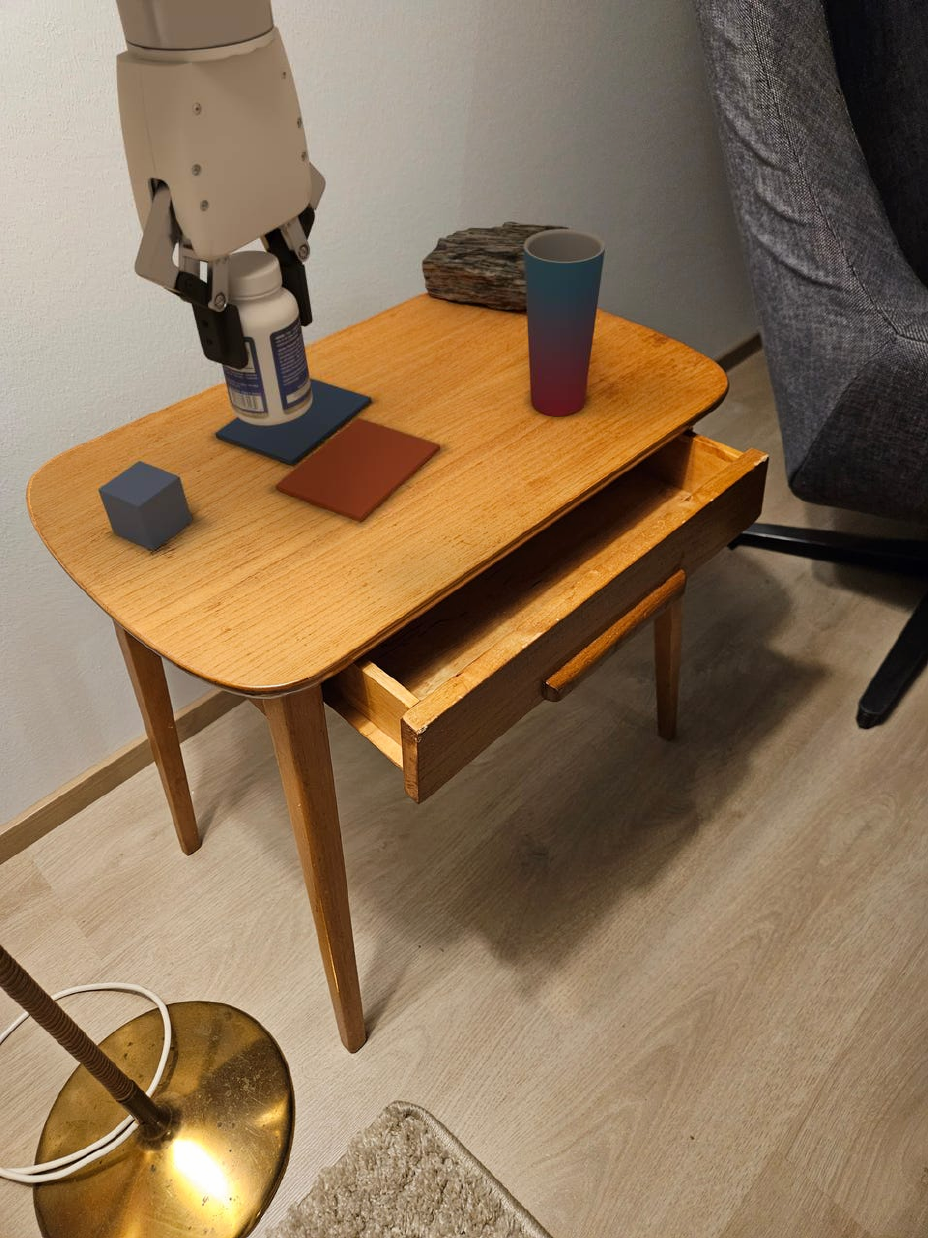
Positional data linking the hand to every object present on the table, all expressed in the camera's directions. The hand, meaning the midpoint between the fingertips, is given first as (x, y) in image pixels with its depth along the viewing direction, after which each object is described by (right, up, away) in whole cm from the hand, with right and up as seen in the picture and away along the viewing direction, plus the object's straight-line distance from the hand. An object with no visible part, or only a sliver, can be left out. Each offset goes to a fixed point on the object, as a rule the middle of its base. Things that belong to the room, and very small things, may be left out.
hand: (259, 338), depth 61 cm
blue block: (-13, -10, +18) cm, 24 cm away
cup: (+22, +3, +30) cm, 37 cm away
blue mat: (-3, +1, +29) cm, 29 cm away
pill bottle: (0, -4, +4) cm, 5 cm away
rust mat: (+4, -5, +23) cm, 24 cm away
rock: (+11, +25, +45) cm, 53 cm away
